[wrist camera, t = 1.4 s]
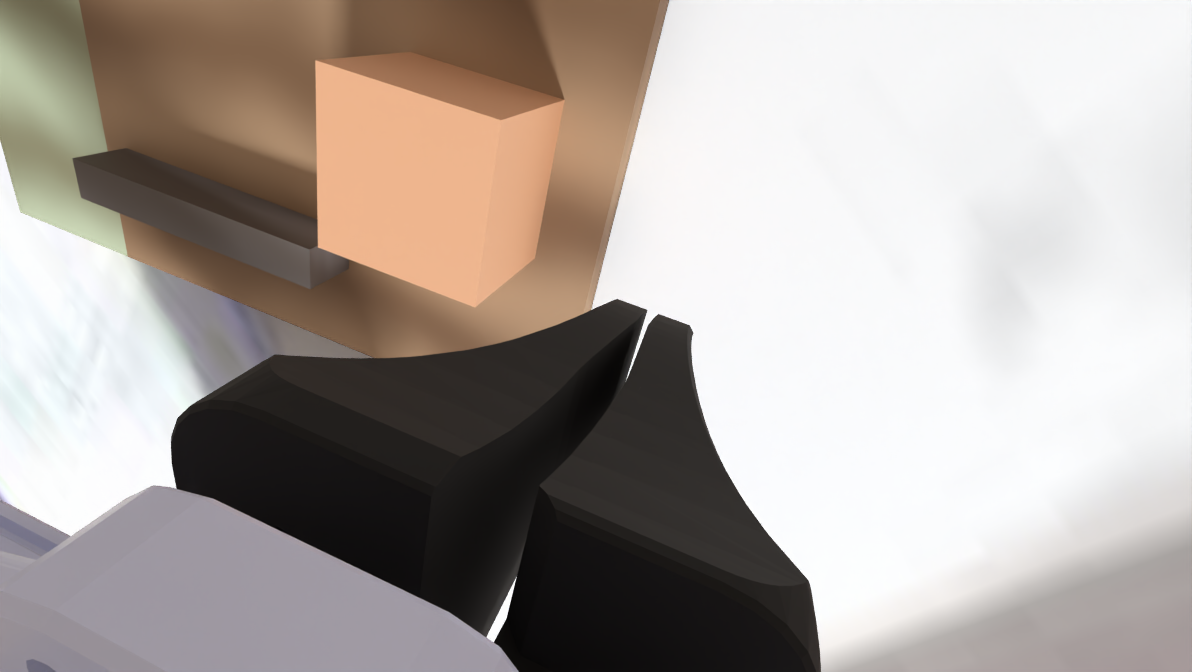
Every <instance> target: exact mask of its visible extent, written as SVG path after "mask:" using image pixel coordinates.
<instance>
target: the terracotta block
mask: <svg viewBox="0 0 1192 672" xmlns="http://www.w3.org/2000/svg"><path fill="white" fill-rule="evenodd" d="M315 71H316V143H317V215H318V248H321V249H324V250H326V251H329V252H331V253H334V254H337V255H339V256H342V257H344V258H347V259H350V260H352V261H355V262H357V263H360V264H363V265H365V266H368V267H370V268H373V269H376V270H378V271H381V272H383V273H386V274H389V275H391V276H394V277H397V278H399V279H402V280H404V281H407V282H410V283H412V284H415V285H417V286H420V287H423V288H425V289H428V290H430V291H433V292H436V293H438V294H441V295H443V296H446V297H449V298H451V299H454V300H456V301H459V302H462V303H464V304H467V305H470V306H472V307H476V306H478V305H479V304H480V303H481V302H482V301H484V300H485V299H486V298H487V297H488V296H490V295H491V294H492V293H493V292H495V291H496V290H497V289H498V288H499V287H501V286H502V285H503V284H504V283H505V282H507V281H508V280H509V279H510V278H512V277H513V276H514V275H515V274H516V273H518V272H519V271H520V270H521V269H522V268H524V267H525V266H526V265H527V264H529V263H530V262H531V261H532V260H533V259H535V255H536V250H537V244H538V239H539V234H540V228H541V223H542V218H543V212H544V207H545V202H546V196H547V191H548V186H549V180H550V175H551V170H552V164H553V159H554V154H555V149H556V143H557V138H558V133H559V127H560V122H561V117H562V111H563V106H564V101H565V100H563V99H560V98H557V97H554V96H551V95H547V94H544V93H541V92H538V91H534V90H531V89H528V88H525V87H522V86H518V85H515V84H512V83H509V82H506V81H502V80H499V79H496V78H493V77H489V76H486V75H483V74H480V73H477V72H473V71H470V70H467V69H464V68H460V67H457V66H454V65H451V64H448V63H444V62H441V61H438V60H435V59H432V58H428V57H425V56H422V55H419V54H415V53H412V52H403V53H392V54H381V55H369V56H358V57H347V58H336V59H324V60H315Z"/></svg>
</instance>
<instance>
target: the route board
mask: <svg viewBox="0 0 1192 672" xmlns="http://www.w3.org/2000/svg"><path fill="white" fill-rule="evenodd" d="M668 3H669V0H0V141H1V144H2V148H3V152H4V155H5V159H6V162H7V166H8V170H9V173H10V177H11V180H12V184H13V187H14V191H15V195H16V198H17V202H18V205H19V209H20V212H21V213H24V214H26V215H29V216H31V217H33V218H36V219H38V220H41V221H43V222H46V223H48V224H50V225H53V226H55V227H58V228H60V229H63V230H65V231H67V232H70V233H72V234H75V235H77V236H80V237H82V238H84V239H87V240H89V241H92V242H94V243H97V244H99V245H101V246H104V247H106V248H109V249H111V250H114V251H116V252H118V253H121V254H123V255H126V256H128V257H131V258H133V259H135V260H138V261H140V262H143V263H145V264H147V265H150V266H152V267H155V268H157V269H160V270H162V271H164V272H167V273H169V274H172V275H174V276H177V277H179V278H181V279H184V280H186V281H189V282H191V283H194V284H196V285H198V286H201V287H203V288H206V289H208V290H211V291H213V292H215V293H218V294H220V295H223V296H225V297H228V298H230V299H232V300H235V301H237V302H240V303H242V304H245V305H247V306H249V307H252V308H254V309H257V310H259V311H262V312H264V313H266V314H269V315H271V316H274V317H276V318H279V319H281V320H283V321H286V322H288V323H291V324H293V325H296V326H298V327H300V328H303V329H305V330H308V331H310V332H313V333H315V334H317V335H320V336H322V337H325V338H327V339H330V340H332V341H334V342H337V343H339V344H342V345H344V346H347V347H349V348H351V349H354V350H356V351H359V352H361V353H364V354H366V355H368V356H371V357H373V358H396V357H413V356H423V355H431V354H439V353H447V352H455V351H462V350H468V349H474V348H479V347H483V346H488V345H493V344H497V343H501V342H505V341H509V340H513V339H516V338H519V337H522V336H525V335H528V334H531V333H534V332H537V331H540V330H543V329H546V328H549V327H552V326H555V325H557V324H560V323H562V322H565V321H567V320H570V319H572V318H575V317H577V316H579V315H581V314H584V313H586V312H588V311H590V310H591V308H592V304H593V300H594V296H595V292H596V288H597V284H598V280H599V276H600V272H601V268H602V264H603V260H604V256H605V252H606V248H607V244H608V241H609V237H610V233H611V229H612V225H613V221H614V217H615V213H616V209H617V205H618V201H619V197H620V193H621V189H622V185H623V181H624V177H625V173H626V169H627V165H628V161H629V157H630V153H631V149H632V145H633V142H634V138H635V134H636V130H637V126H638V122H639V118H640V114H641V110H642V106H643V102H644V98H645V94H646V90H647V86H648V82H649V78H650V74H651V70H652V66H653V62H654V58H655V54H656V50H657V46H658V43H659V39H660V35H661V31H662V27H663V23H664V19H665V15H666V11H667V7H668ZM403 52H412V53H415V54H419V55H422V56H425V57H428V58H432V59H435V60H438V61H441V62H444V63H448V64H451V65H454V66H457V67H460V68H464V69H467V70H470V71H473V72H477V73H480V74H483V75H486V76H489V77H493V78H496V79H499V80H502V81H506V82H509V83H512V84H515V85H518V86H522V87H525V88H528V89H531V90H534V91H538V92H541V93H544V94H547V95H551V96H554V97H557V98H560V99H563V100H565V101H564V106H563V111H562V117H561V122H560V127H559V133H558V138H557V143H556V149H555V154H554V159H553V164H552V170H551V175H550V180H549V186H548V191H547V196H546V202H545V207H544V212H543V218H542V223H541V228H540V234H539V239H538V244H537V250H536V255H535V259H533V260H532V261H531V262H530V263H529V264H527V265H526V266H525V267H524V268H522V269H521V270H520V271H519V272H518V273H516V274H515V275H514V276H513V277H512V278H510V279H509V280H508V281H507V282H505V283H504V284H503V285H502V286H501V287H499V288H498V289H497V290H496V291H495V292H493V293H492V294H491V295H490V296H488V297H487V298H486V299H485V300H484V301H482V302H481V303H480V304H479V305H478V306H476V307H472V306H470V305H467V304H464V303H462V302H459V301H456V300H454V299H451V298H449V297H446V296H443V295H441V294H438V293H436V292H433V291H430V290H428V289H425V288H423V287H420V286H417V285H415V284H412V283H410V282H407V281H404V280H402V279H399V278H397V277H394V276H391V275H389V274H386V273H383V272H381V271H378V270H376V269H373V268H370V267H368V266H365V265H363V264H360V263H357V262H355V261H352V260H350V259H347V258H344V257H342V256H339V255H337V254H334V253H331V252H329V251H326V250H324V249H321V248H318V215H317V143H316V71H315V60H324V59H336V58H347V57H358V56H369V55H381V54H392V53H403Z"/></svg>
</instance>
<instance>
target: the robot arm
mask: <svg viewBox="0 0 1192 672" xmlns="http://www.w3.org/2000/svg"><path fill="white" fill-rule="evenodd" d="M646 313H647V310H646V309H643V308H640V307H638V306H635V305H632V304H629V303H627V302H624V301H621V300H618V299H616V300H613V301H611V302H609V303H606V304H604V305H602V306H599V307H597V308H595V309H593V310H590V311H588V312H586V313H584V314H581V315H579V316H577V317H575V318H572V319H570V320H567V321H565V322H562V323H560V324H557V325H555V326H552V327H549V328H546V329H543V330H540V331H537V332H534V333H531V334H528V335H525V336H522V337H519V338H516V339H513V340H509V341H505V342H501V343H497V344H493V345H488V346H483V347H479V348H474V349H468V350H462V351H455V352H447V353H439V354H431V355H423V356H413V357H396V358H363V359H355V358H324V357H304V356H286V355H273V356H272V357H270V358H268V359H266V360H265V361H263V362H261V363H260V364H258V365H256V366H255V367H253V368H251V369H250V370H248V371H247V372H245V373H243V374H242V375H240V376H238V377H237V378H235V379H233V380H232V381H230V382H228V383H227V384H225V385H224V386H222V387H220V388H219V389H217V390H215V391H214V392H212V393H210V394H209V395H207V396H206V397H204V398H202V399H201V400H199V401H197V402H196V403H194V404H192V405H191V406H190V407H189V408H188V409H187V410H186V411H184V412H183V413H182V414H181V415H180V416H179V417H178V418H177V421H176V424H175V427H174V430H173V433H172V436H171V455H172V467H173V472H174V477H175V483H176V488H177V489H175V488H171V487H162V486H151V487H149V488H147V489H145V490H143V491H141V492H139V493H137V494H134V495H132V496H130V497H128V498H126V499H125V500H123V501H122V502H120V503H119V504H117V505H116V506H114V507H113V508H111V509H110V510H109V511H107V512H106V513H104V514H103V515H101V516H100V517H98V518H97V519H95V520H94V521H92V522H91V523H90V524H88V525H87V526H85V527H84V528H82V529H81V530H79V531H78V532H76V533H75V534H74V535H72V536H69V535H67V534H65V533H63V532H62V531H60V530H58V529H56V528H54V527H52V526H50V525H48V524H46V523H44V522H42V521H40V520H38V519H36V518H35V517H33V516H31V515H29V514H27V513H25V512H23V511H21V510H19V509H17V508H15V507H13V506H11V505H9V504H8V503H6V502H4V501H2V500H0V672H821V664H820V649H819V640H818V632H817V624H816V617H815V611H814V605H813V599H812V593H811V588H810V583H809V581H808V580H807V578H806V577H805V576H804V575H803V574H802V573H801V572H800V570H799V569H798V568H797V567H796V566H795V565H794V564H793V562H792V561H791V560H790V559H789V558H788V557H787V555H786V554H785V553H784V552H783V551H782V550H781V549H780V547H779V546H778V545H777V544H776V543H775V542H774V541H773V539H772V538H771V537H770V536H769V535H768V533H767V532H766V531H765V530H764V528H763V527H762V526H761V524H760V523H759V521H758V520H757V519H756V517H755V516H754V514H753V513H752V512H751V510H750V509H749V508H748V506H747V505H746V503H745V502H744V500H743V499H742V497H741V496H740V494H739V492H738V491H737V489H736V487H735V485H734V484H733V482H732V480H731V479H730V477H729V475H728V473H727V472H726V470H725V468H724V466H723V464H722V462H721V460H720V458H719V456H718V453H717V451H716V449H715V446H714V444H713V442H712V439H711V437H710V434H709V431H708V428H707V426H706V423H705V420H704V416H703V413H702V409H701V406H700V402H699V398H698V394H697V390H696V384H695V379H694V373H693V366H692V355H691V340H692V335H693V331H692V329H691V327H690V325H687V324H684V323H681V322H679V321H676V320H673V319H670V318H668V317H665V316H662V315H659V314H658V315H657V316H656V317H655V318H654V319H653V320H652V321H651V322H650V324H649V325H648V327H647V330H646V332H645V335H644V338H643V340H642V343H641V345H640V348H639V351H638V353H637V356H636V358H635V361H634V364H633V366H632V369H631V371H630V374H629V376H628V378H627V375H628V371H629V368H630V365H631V362H632V358H633V355H634V352H635V349H636V346H637V342H638V339H639V336H640V333H641V329H642V326H643V323H644V320H645V316H646ZM626 378H627V380H626ZM625 381H626V382H625ZM516 577H517V578H516ZM515 578H516V582H515V586H514V591H513V595H512V599H511V603H510V607H509V611H508V615H507V619H506V621H505V623H504V625H503V626H502V628H501V630H500V632H499V634H498V636H497V638H496V639H495V641H494V643H493V642H492V641H490V640H489V639H488V638H486V637H487V634H488V632H489V630H490V628H491V626H492V624H493V622H494V620H495V618H496V616H497V614H498V612H499V610H500V608H501V606H502V604H503V602H504V600H505V598H506V596H507V594H508V592H509V590H510V588H511V586H512V584H513V582H514V580H515Z"/></svg>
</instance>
